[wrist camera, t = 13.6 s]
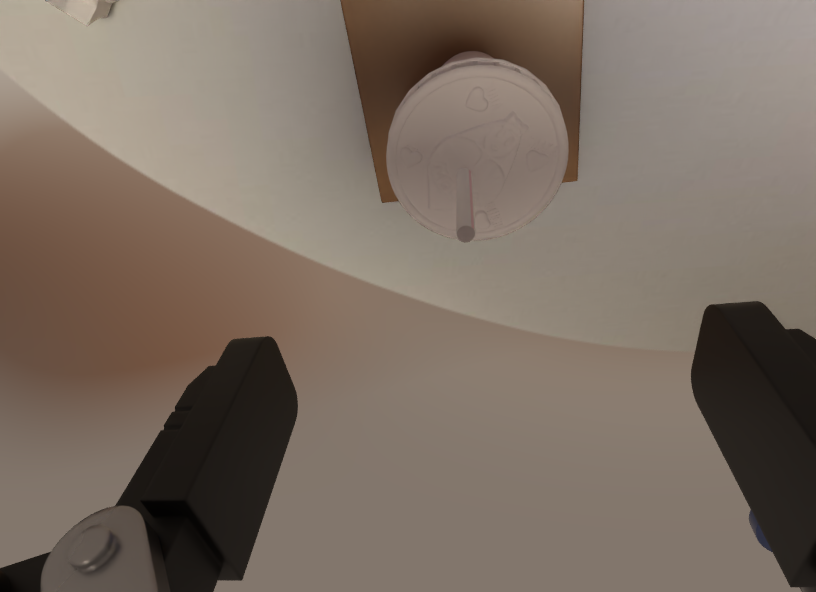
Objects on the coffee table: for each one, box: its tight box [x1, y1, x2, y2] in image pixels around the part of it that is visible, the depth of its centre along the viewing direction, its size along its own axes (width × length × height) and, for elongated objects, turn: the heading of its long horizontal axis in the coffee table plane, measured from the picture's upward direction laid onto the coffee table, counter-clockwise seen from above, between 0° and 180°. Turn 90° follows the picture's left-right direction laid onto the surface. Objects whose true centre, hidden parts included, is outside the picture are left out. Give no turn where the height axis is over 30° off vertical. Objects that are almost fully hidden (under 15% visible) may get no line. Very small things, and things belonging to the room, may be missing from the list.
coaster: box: [340, 0, 584, 203], centre depth 26 cm, size 11×11×1 cm
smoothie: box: [386, 51, 569, 242], centre depth 20 cm, size 6×6×14 cm
